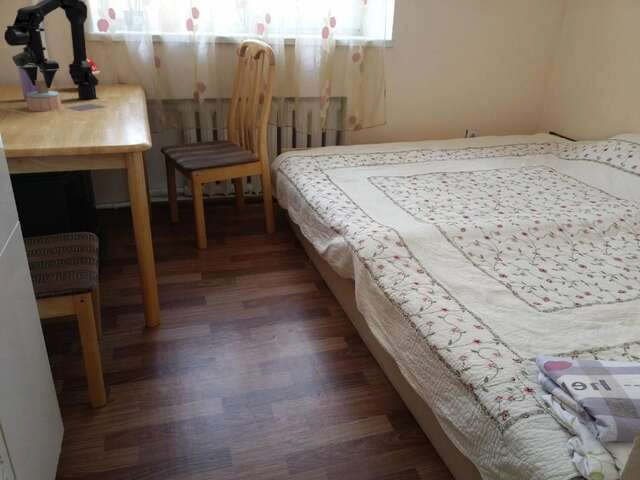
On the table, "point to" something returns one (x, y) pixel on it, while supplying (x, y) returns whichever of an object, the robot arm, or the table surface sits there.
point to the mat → (85, 107)
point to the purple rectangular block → (26, 83)
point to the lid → (42, 91)
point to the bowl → (44, 103)
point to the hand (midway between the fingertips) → (41, 86)
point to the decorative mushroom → (93, 67)
